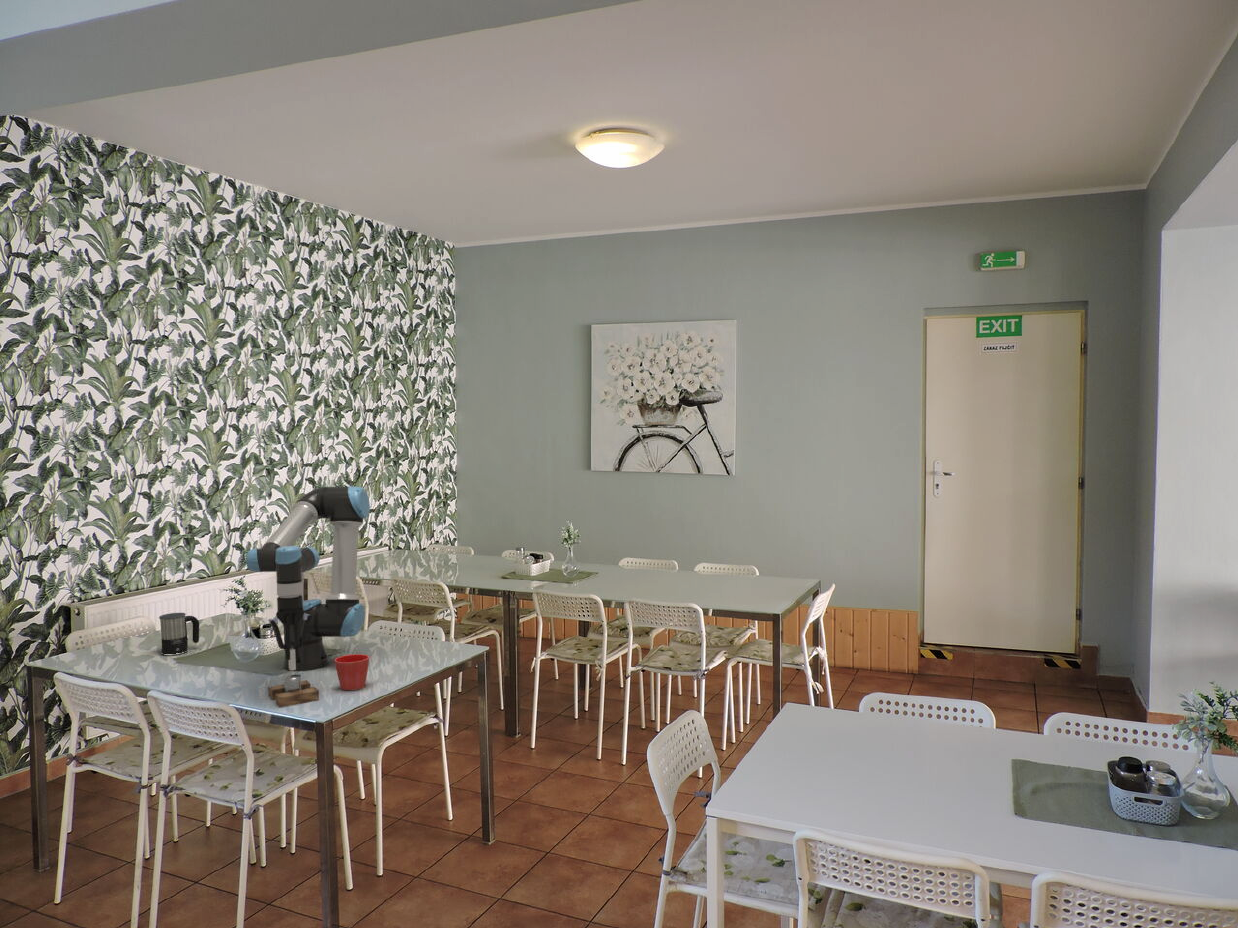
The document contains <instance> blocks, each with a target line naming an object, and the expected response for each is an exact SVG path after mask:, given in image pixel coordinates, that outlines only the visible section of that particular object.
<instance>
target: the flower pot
mask: <svg viewBox="0 0 1238 928" xmlns="http://www.w3.org/2000/svg"><path fill="white" fill-rule="evenodd" d="M369 663H370V656H369V655H366V654H360V653H359V654H357V653H356V654H355V653H354V654H345V655H342V656H341V655H340V656H339V657H336V658H335V659H334V665H335V670H336V675H337V678H338V683H339V686H340V689H341V690H343V691H355V690H356V691H357V690H359V689H360V690H361V689H363V688H365V686H366V682H367V678H368V671H369Z"/></svg>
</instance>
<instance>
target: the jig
mask: <svg viewBox="0 0 1238 928" xmlns="http://www.w3.org/2000/svg"><path fill="white" fill-rule="evenodd" d="M311 684H312V683H311V682H310V681H308V680H307V679H305V680H301V690H300V691H295V692H289V693H285V689H284V683H283V684H278V685H277V684H276V685H272V686H271V685H270V686H268V687H267V691H268V697H269V699H270V700H272V701H274V700H275V704H276V705H277V707H279V708H284V707H289V706H296V705H300V704H305V703H306V704H307V703H312V702H315V701H319V700H320V691H319V689H317V687H315V686H313V687H312V685H311Z"/></svg>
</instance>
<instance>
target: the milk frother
mask: <svg viewBox="0 0 1238 928" xmlns="http://www.w3.org/2000/svg"><path fill="white" fill-rule="evenodd" d="M158 618H159V619H160V636H161V653H163V654H176V653H182V652H185V651H187V650H188V645H189V644H188V641H189V637H188V630H187V628H188V627H187V622H191V623H192V643H194V644H198V643H199V641H200V621H199V619H198V618H197V617H196V616H193V615H186V613H185V612H172V613H171V612H170V613H166V614H165V613H164V614H161V615H159V617H158ZM187 652H188V651H187Z"/></svg>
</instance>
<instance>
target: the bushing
mask: <svg viewBox="0 0 1238 928" xmlns="http://www.w3.org/2000/svg"><path fill="white" fill-rule="evenodd" d="M283 680H284V681H283V682H284V683H283V684H284V689H285V693H289V692H295V691H300V690H301V681H302V676H301V674H289V675H286V676H284V677H283Z"/></svg>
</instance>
